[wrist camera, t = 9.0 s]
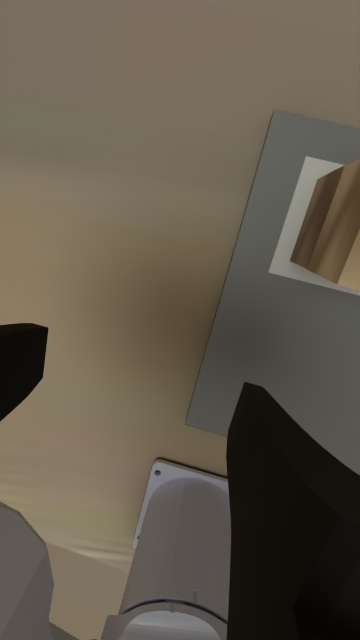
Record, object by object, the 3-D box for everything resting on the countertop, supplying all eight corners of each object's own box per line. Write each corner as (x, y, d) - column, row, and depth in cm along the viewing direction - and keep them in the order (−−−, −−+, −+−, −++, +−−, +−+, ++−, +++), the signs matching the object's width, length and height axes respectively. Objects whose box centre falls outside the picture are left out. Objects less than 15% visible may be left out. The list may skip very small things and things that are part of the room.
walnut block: (366, 279, 18) (404, 293, 14) (289, 260, 18) (307, 269, 15) (400, 198, 17) (453, 190, 13) (317, 179, 17) (344, 165, 13)
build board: (389, 475, 22) (396, 485, 22) (186, 418, 23) (184, 425, 22) (553, 178, 16) (571, 175, 16) (272, 114, 17) (274, 108, 16)
